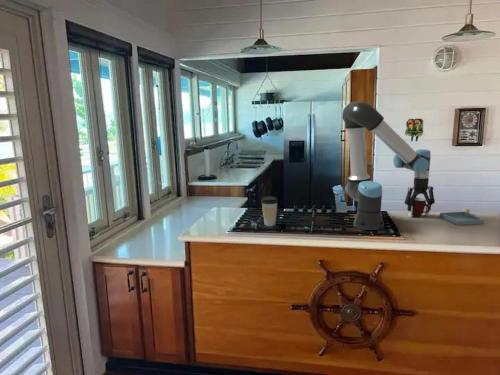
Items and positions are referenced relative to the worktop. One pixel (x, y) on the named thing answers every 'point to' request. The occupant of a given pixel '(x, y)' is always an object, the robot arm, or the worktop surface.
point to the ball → (466, 210)
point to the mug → (419, 207)
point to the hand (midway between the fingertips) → (418, 215)
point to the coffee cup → (269, 210)
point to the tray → (461, 218)
